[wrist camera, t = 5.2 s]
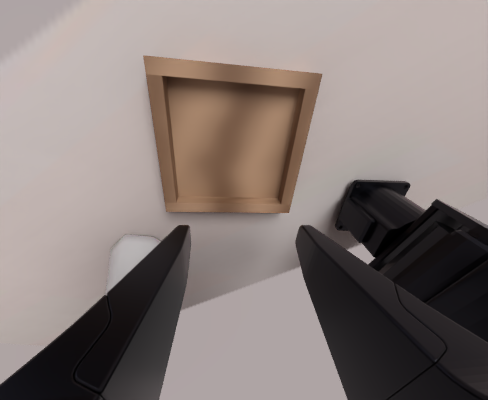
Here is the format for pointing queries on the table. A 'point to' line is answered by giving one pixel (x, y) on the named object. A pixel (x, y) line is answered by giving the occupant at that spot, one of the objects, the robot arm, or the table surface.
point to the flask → (127, 256)
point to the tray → (229, 133)
